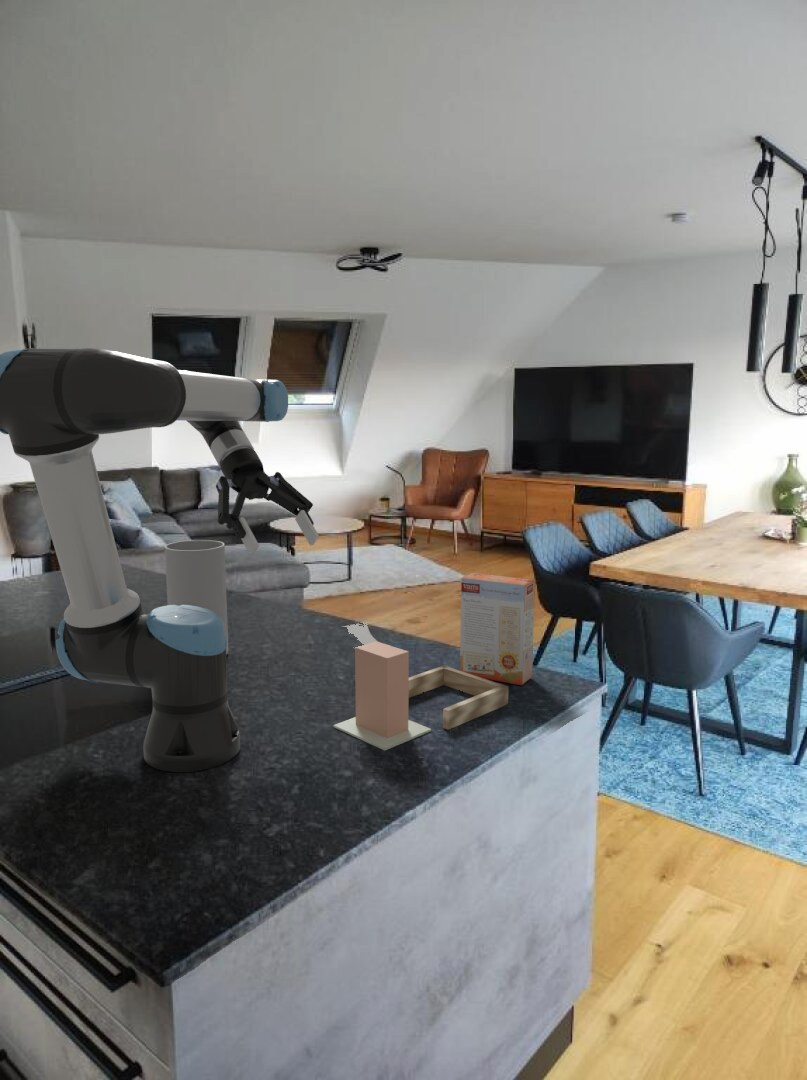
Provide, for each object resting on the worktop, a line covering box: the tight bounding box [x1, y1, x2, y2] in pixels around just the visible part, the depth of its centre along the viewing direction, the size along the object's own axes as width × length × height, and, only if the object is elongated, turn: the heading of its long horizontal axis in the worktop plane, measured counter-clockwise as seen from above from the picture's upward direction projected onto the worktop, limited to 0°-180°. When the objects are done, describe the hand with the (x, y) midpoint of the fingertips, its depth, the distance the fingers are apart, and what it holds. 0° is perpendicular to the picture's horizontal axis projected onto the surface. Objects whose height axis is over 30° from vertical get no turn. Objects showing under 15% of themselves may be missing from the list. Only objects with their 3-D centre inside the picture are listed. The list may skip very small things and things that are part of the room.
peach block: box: [354, 640, 410, 738], centre depth 136 cm, size 5×8×14 cm, turn 45°
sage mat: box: [333, 716, 432, 752], centre depth 138 cm, size 11×13×1 cm
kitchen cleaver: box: [342, 622, 379, 645], centre depth 184 cm, size 31×2×10 cm
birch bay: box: [409, 665, 509, 730], centre depth 149 cm, size 17×16×4 cm
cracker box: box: [459, 572, 536, 686], centre depth 162 cm, size 14×6×21 cm, turn 59°
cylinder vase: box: [164, 539, 229, 656], centre depth 174 cm, size 12×12×25 cm
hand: (285, 545), depth 146 cm, fingers open, 13 cm apart
